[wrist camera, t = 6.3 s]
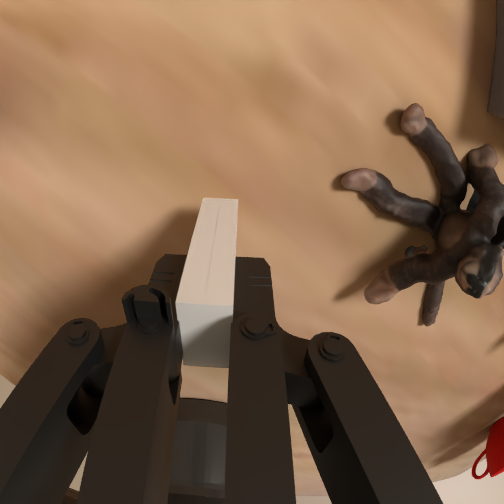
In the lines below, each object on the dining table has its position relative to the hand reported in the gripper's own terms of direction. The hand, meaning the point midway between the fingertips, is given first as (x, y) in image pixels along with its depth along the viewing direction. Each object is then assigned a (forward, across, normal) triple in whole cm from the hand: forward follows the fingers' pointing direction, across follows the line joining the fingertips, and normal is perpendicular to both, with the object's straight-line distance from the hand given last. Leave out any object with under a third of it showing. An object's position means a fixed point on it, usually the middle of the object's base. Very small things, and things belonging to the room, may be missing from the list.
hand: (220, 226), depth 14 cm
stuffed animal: (+3, +12, 0) cm, 13 cm away
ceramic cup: (+2, +52, -40) cm, 66 cm away
